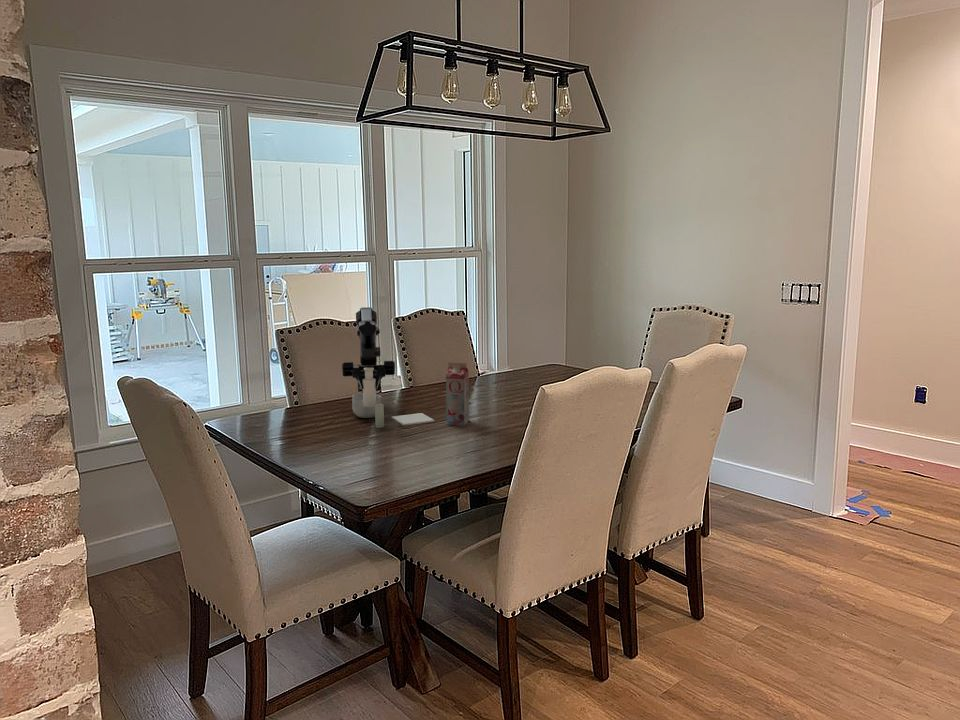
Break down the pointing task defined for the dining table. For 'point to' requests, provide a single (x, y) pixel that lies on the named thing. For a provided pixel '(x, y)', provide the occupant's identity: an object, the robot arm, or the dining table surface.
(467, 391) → the juice carton
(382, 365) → the robot arm
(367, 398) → the vase
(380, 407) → the post
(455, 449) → the dining table surface
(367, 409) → the teacup
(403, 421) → the mat
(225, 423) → the dining table surface
